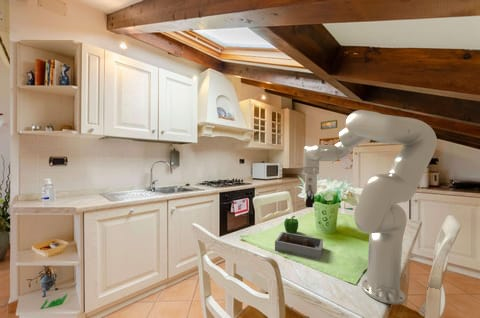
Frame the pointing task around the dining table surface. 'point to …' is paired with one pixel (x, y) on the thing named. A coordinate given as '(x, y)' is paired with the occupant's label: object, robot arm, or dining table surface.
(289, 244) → the tray
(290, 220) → the bell pepper
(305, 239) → the bolt
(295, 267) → the dining table surface
